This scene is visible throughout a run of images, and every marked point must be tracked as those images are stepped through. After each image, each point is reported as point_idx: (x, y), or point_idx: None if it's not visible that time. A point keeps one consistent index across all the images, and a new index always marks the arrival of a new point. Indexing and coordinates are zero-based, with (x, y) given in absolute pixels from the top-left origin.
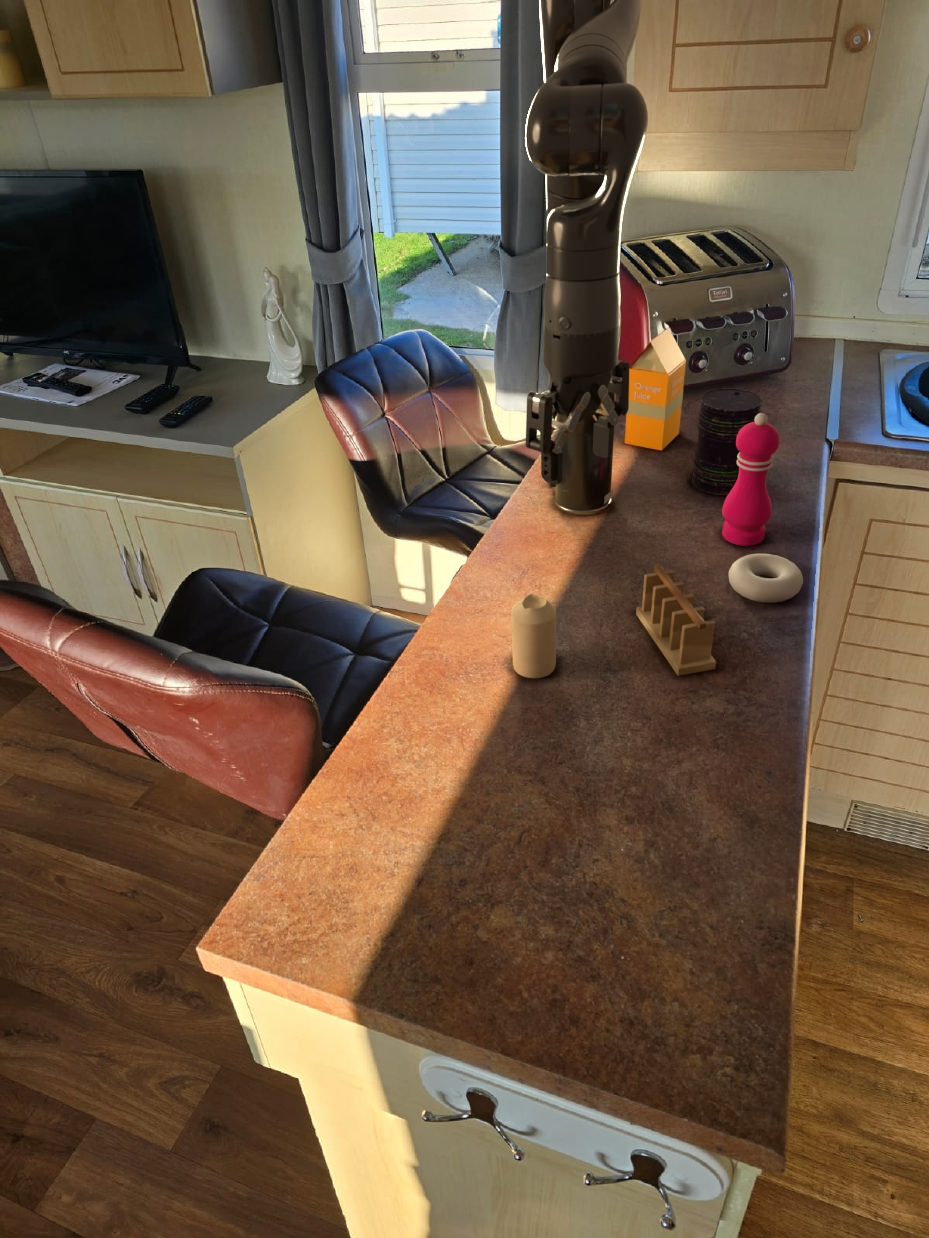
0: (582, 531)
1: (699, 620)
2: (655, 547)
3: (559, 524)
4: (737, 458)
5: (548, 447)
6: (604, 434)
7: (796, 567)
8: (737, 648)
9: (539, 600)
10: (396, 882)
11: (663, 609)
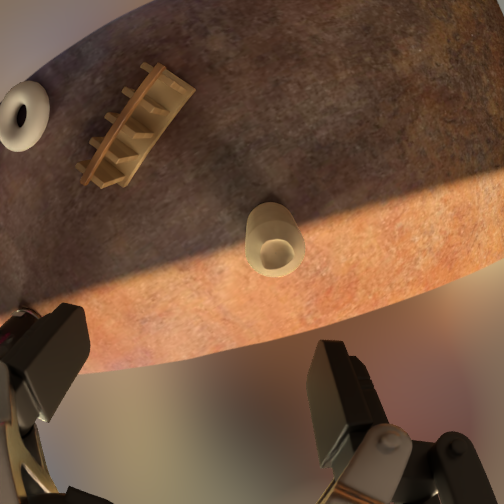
0: None
1: (156, 71)
2: (32, 237)
3: None
4: None
5: (457, 450)
6: (45, 368)
7: (4, 98)
8: (120, 71)
9: (262, 253)
10: (501, 179)
11: (140, 133)
